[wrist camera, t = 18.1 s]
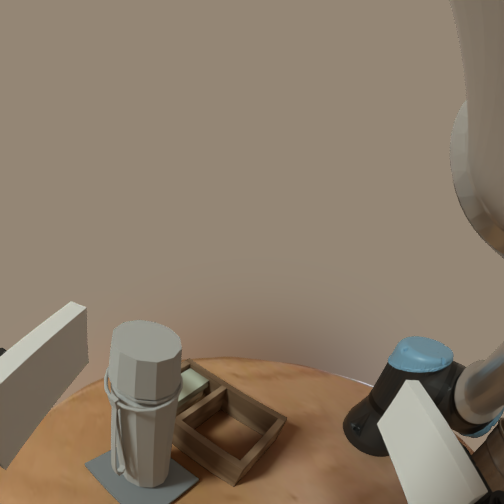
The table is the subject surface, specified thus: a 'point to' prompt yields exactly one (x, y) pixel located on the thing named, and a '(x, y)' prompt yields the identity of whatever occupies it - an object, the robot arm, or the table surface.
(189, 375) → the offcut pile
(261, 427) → the walnut divided tray
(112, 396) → the water bottle
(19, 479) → the table surface
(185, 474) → the slate mat
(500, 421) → the plant pot
